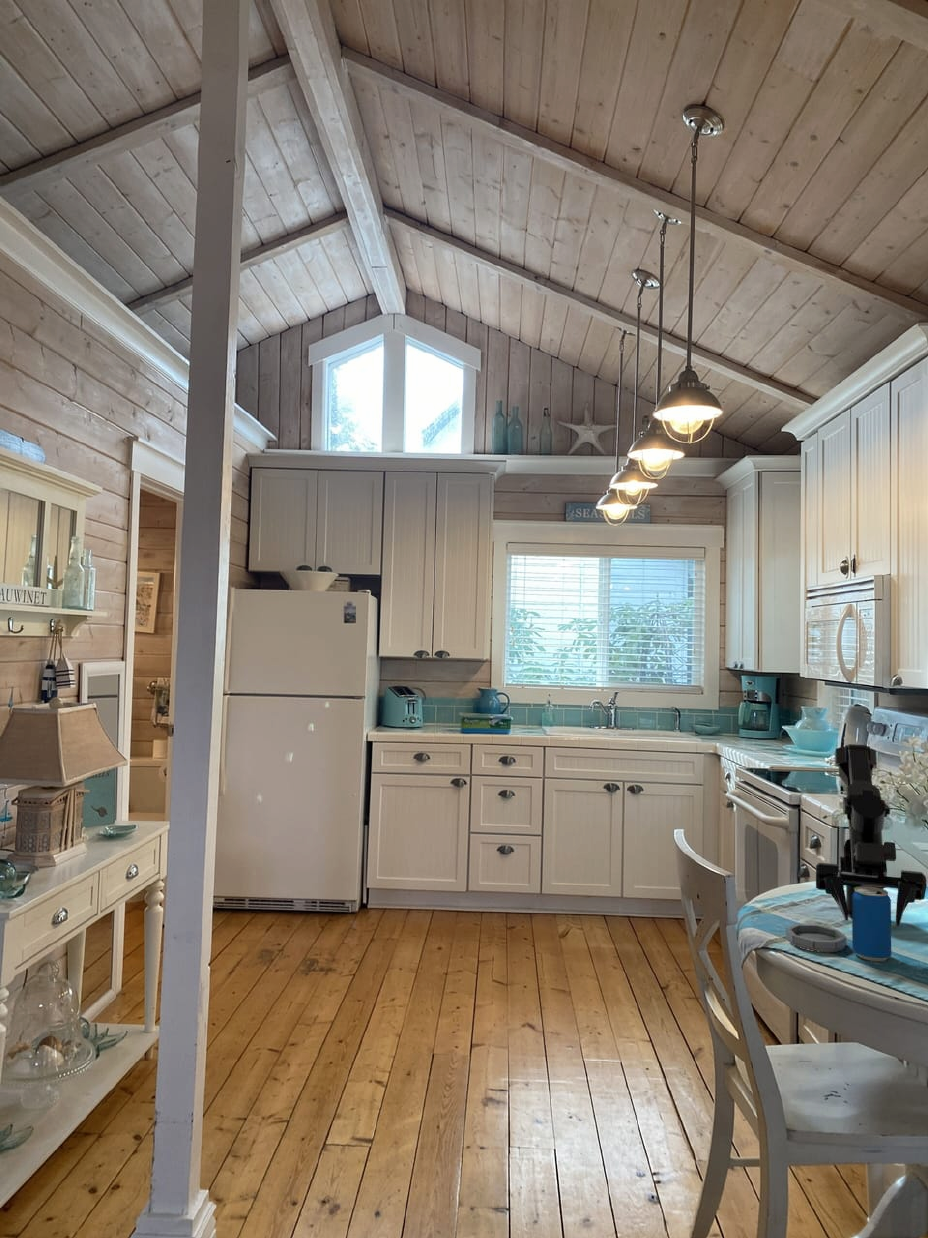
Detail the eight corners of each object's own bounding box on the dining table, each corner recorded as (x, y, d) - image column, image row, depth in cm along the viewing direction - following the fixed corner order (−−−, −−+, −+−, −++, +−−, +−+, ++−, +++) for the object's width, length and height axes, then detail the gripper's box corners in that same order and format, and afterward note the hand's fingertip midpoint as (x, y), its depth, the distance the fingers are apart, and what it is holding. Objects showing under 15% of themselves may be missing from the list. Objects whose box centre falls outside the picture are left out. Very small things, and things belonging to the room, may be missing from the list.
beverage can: (898, 963, 151) (897, 895, 152) (862, 963, 151) (862, 895, 152) (880, 950, 158) (879, 885, 158) (846, 950, 158) (845, 885, 158)
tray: (781, 933, 166) (781, 923, 166) (832, 935, 166) (832, 925, 166) (797, 952, 156) (797, 941, 156) (852, 953, 156) (852, 942, 156)
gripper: (815, 820, 162) (817, 893, 152) (924, 829, 155) (934, 906, 145) (815, 852, 169) (816, 924, 159) (919, 861, 162) (928, 937, 152)
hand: (872, 922), depth 153 cm, fingers open, 8 cm apart
